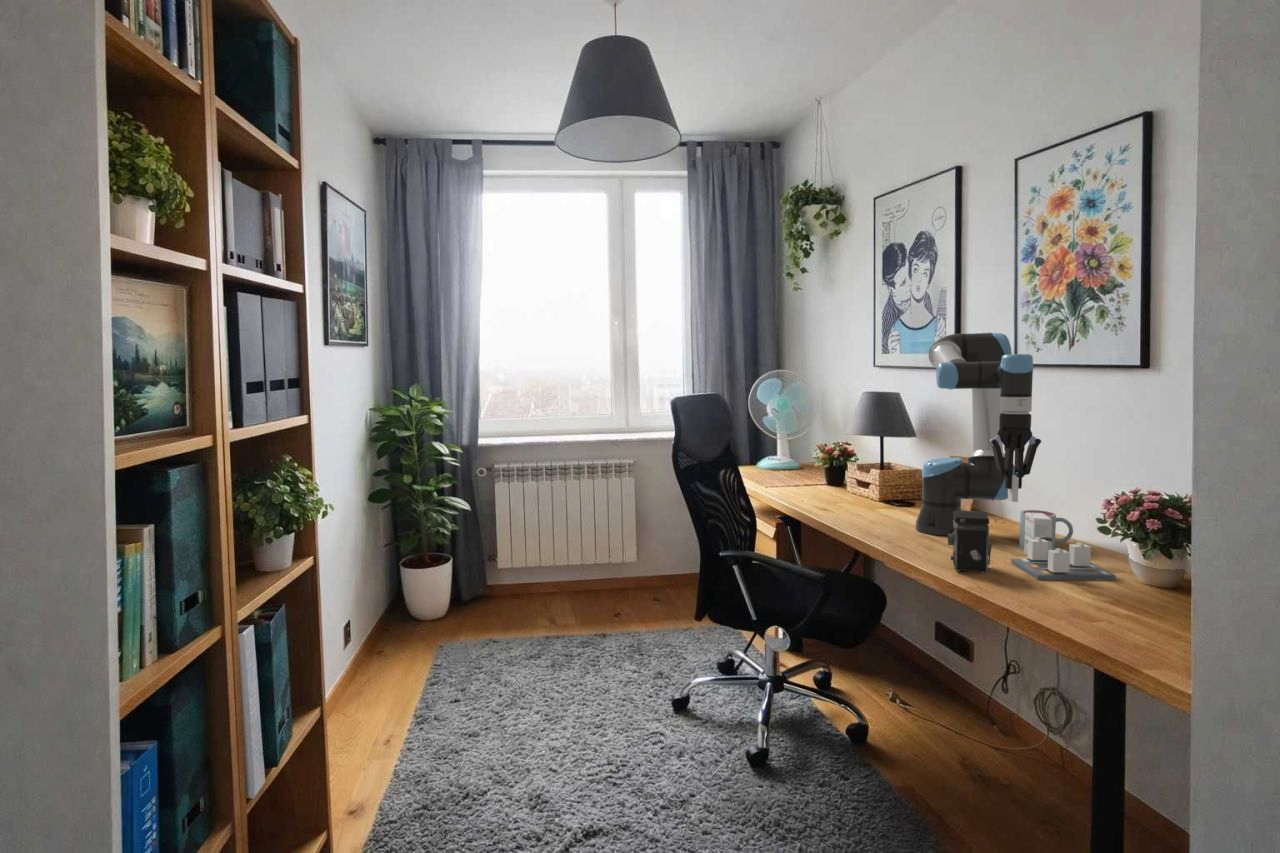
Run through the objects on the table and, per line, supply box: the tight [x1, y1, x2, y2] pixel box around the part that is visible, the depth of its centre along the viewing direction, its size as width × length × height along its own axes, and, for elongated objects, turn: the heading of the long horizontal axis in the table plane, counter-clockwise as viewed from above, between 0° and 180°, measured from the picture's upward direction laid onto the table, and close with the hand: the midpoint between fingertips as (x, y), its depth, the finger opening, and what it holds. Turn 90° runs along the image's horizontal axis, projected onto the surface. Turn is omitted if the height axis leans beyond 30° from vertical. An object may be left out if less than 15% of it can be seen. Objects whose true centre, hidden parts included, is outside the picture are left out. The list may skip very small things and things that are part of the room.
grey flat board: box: [1010, 558, 1117, 581], centre depth 192 cm, size 15×19×2 cm
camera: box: [947, 510, 992, 574], centre depth 196 cm, size 10×11×15 cm
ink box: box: [1023, 513, 1052, 556], centre depth 206 cm, size 9×5×12 cm, turn 168°
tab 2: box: [1048, 547, 1070, 572], centre depth 187 cm, size 3×4×6 cm, turn 87°
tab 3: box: [1068, 541, 1092, 566], centre depth 191 cm, size 3×4×6 cm, turn 86°
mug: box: [1019, 509, 1074, 550], centre depth 215 cm, size 14×9×10 cm
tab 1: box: [1027, 537, 1048, 560], centre depth 197 cm, size 3×4×6 cm, turn 87°
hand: (1012, 500), depth 196 cm, fingers closed
